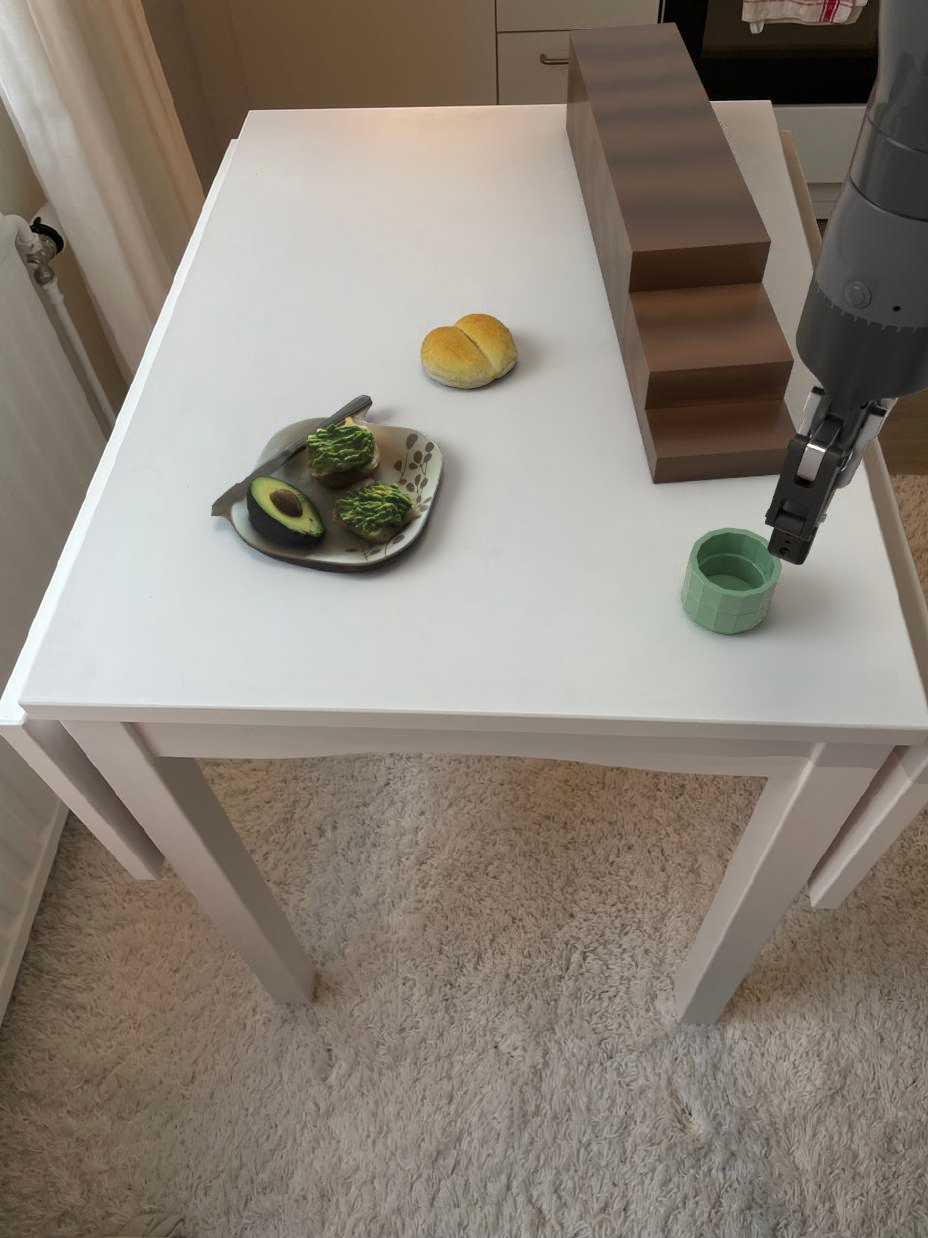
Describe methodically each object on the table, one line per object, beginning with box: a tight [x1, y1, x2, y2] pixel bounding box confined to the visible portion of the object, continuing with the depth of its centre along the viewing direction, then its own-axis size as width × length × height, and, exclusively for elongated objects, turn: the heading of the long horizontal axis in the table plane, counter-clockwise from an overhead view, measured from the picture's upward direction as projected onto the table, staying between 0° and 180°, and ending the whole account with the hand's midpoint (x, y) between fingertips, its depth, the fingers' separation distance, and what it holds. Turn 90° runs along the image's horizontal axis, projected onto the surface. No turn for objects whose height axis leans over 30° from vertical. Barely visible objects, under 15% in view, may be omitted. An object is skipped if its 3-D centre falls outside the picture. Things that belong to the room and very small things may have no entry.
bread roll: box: [420, 313, 519, 390], centre depth 90 cm, size 8×9×4 cm
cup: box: [681, 527, 783, 635], centre depth 71 cm, size 6×6×5 cm
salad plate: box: [210, 394, 445, 574], centre depth 80 cm, size 19×18×5 cm
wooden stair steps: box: [565, 21, 798, 484], centre depth 94 cm, size 61×12×11 cm, turn 3°
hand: (813, 509), depth 58 cm, fingers open, 8 cm apart
